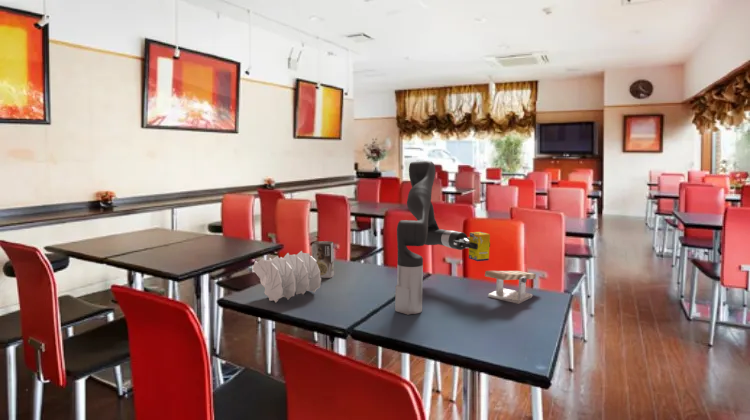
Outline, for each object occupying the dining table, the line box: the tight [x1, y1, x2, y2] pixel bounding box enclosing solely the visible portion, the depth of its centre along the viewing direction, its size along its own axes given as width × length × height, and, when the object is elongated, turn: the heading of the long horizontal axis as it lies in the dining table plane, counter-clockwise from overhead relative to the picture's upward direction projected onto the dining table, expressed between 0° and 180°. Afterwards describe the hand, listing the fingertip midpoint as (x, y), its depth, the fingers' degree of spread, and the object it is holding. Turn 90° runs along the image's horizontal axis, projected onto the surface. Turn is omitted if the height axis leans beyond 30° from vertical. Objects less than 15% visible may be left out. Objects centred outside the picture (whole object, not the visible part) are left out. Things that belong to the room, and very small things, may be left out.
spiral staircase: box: [252, 250, 322, 303], centre depth 186 cm, size 18×18×25 cm
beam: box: [484, 270, 537, 281], centre depth 187 cm, size 28×8×2 cm, turn 137°
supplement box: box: [468, 231, 491, 262], centre depth 190 cm, size 6×6×11 cm
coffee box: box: [311, 240, 335, 279], centre depth 218 cm, size 9×6×16 cm
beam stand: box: [488, 276, 533, 305], centre depth 187 cm, size 12×13×9 cm
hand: (483, 245), depth 188 cm, fingers closed on supplement box, 6 cm apart
